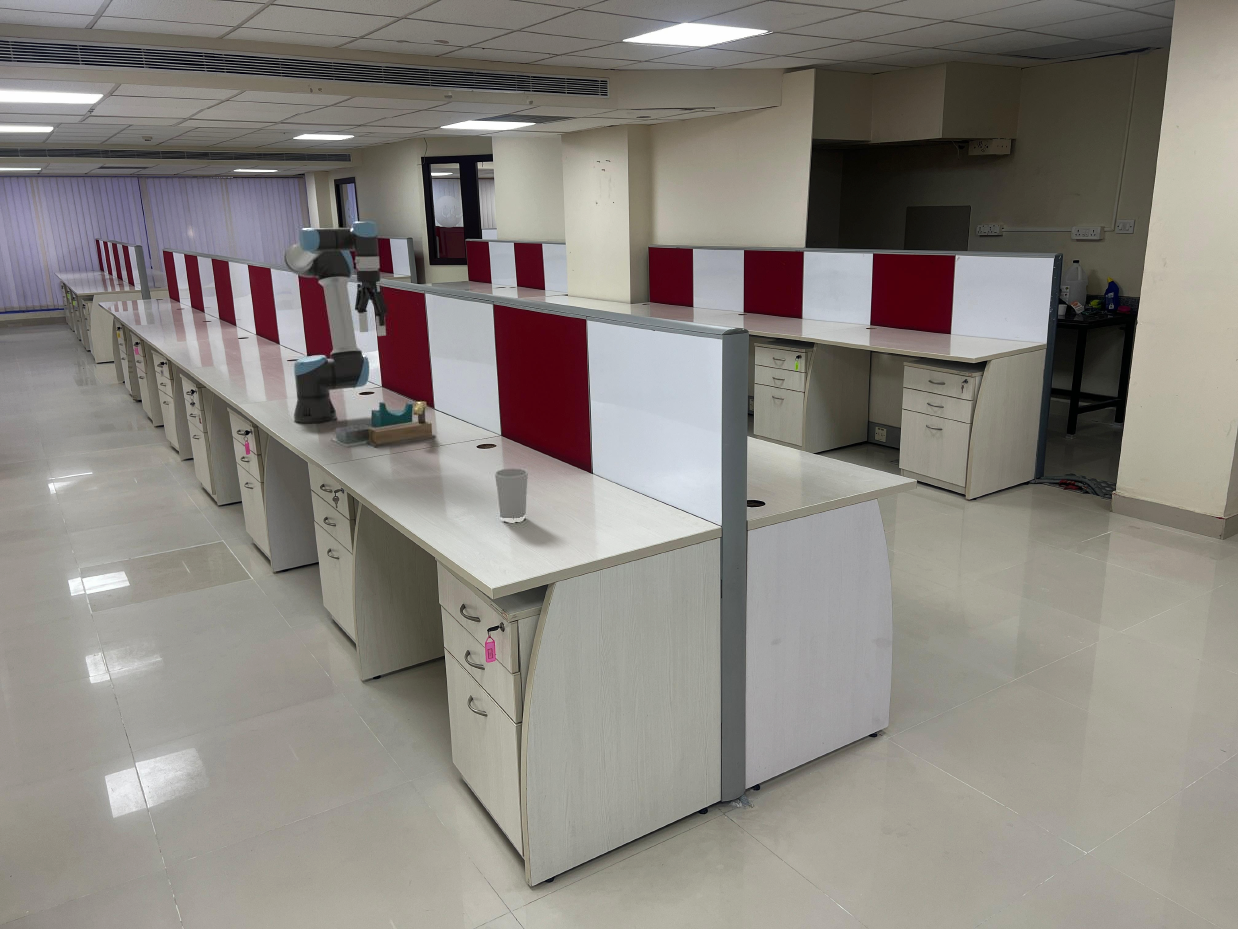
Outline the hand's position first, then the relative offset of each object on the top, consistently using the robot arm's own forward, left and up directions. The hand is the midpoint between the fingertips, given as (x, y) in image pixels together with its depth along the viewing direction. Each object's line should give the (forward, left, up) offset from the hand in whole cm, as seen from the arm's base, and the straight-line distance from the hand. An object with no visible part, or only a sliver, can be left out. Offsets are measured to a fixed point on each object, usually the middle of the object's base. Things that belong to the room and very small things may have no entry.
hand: (372, 333), depth 300 cm
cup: (+108, -16, -35) cm, 115 cm away
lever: (+18, +6, -25) cm, 31 cm away
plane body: (+14, +1, -35) cm, 37 cm away
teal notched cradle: (-6, +7, -35) cm, 36 cm away
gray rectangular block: (+4, -11, -34) cm, 36 cm away
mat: (+4, -11, -35) cm, 37 cm away
